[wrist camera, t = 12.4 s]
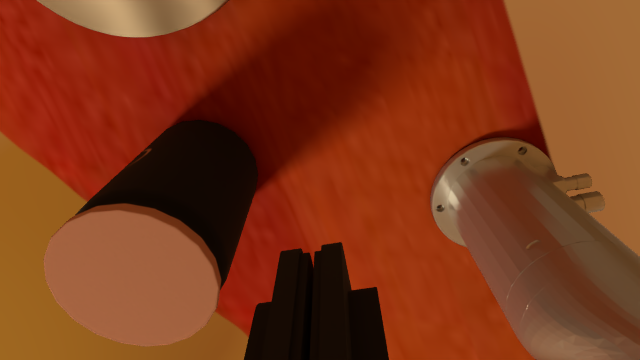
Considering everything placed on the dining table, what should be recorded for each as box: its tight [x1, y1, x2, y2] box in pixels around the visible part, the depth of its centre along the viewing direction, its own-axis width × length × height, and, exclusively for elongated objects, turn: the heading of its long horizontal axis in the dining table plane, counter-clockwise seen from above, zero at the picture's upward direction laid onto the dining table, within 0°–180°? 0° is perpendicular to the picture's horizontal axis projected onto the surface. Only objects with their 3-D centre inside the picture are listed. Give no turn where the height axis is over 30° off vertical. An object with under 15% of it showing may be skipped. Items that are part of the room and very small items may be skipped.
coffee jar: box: [44, 120, 258, 346], centre depth 33 cm, size 11×11×18 cm
